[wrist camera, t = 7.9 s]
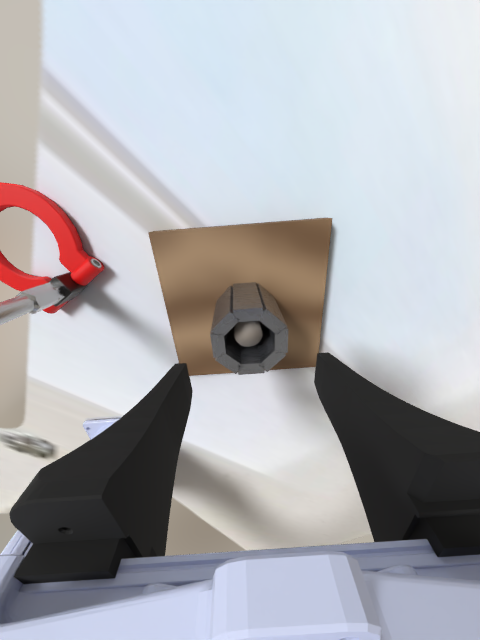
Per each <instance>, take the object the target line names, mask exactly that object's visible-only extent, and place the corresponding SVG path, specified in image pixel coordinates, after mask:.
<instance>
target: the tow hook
mask: <svg viewBox="0 0 480 640" xmlns="http://www.w3.org/2000/svg"><path fill="white" fill-rule="evenodd" d="M14 206H16V207H20V208H23V209H25V210H28V211H30V212H31V213H33V214H35V215H36V216H38V217H39V218H40V219H41V220H42V221H43V222H44V223H45V224H46V225H47V226H48V227H49V229H50V230H51V231H52V233H53V234H54V236H55V238H56V241H57V243H58V247H59V251H60V258H59V260H60V262H61V264H63V265H64V266H65V267H66V268H67V269H68V270H69V271H70V272H69V273H66V274H63V275H59V276H56V277H54V278H53V279H51V278H49V277H38V276H32V275H29V274H26V273H24V272H23V271H21V270H19V269H17V268H16V267H14V266H13V265H12V264H11V263H10V262H9V261H8V260H7V259H6V258H5V257H4V255H3V254H2V253H1V251H0V280H1V281H2V282H4V283H5V284H7V285H9V286H11V287H12V288H14V289H16V290H19V291H22V292H20V293H19V294H18V295H17V296H16V297H15V298H12V299H9V300H6V301H3V302H0V325H1V324H4V323H6V322H8V321H11V320H13V319H15V318H17V317H20V316H22V315H24V314H27V313H32V314H34V313H37V312H39V311H41V310H43V311H45V312H47V313H55V312H57V311H58V310H59V309H60V308H61V307H62V306H63V305H65V304H66V303H67V302H68V301H69V300H71V299H73V298H74V297H75V296H77V295H78V294H79V293H80V292H81V291H82V290H83V289H84V288H86V287H87V285H88V283H89V282H90V281H91V280H93V279H94V278H95V277H96V276H97V275H98V274H99V273H100V272H102V271H103V270H104V266H103V264H102V263H101V262H100V261H99V260H98V259H96V258H94V257H90V256H89V255H88V254H87V253H86V252H85V251H84V250H83V248H82V242H81V240H80V237H79V235H78V233H77V230H76V228H75V226H74V225H73V223H72V222H71V221H70V219H69V218H68V216H67V215H66V213H65V212H64V211H63V210H62V209H60V208H59V207H58V206H57V205H56V204H55V203H54V202H53V201H52V200H50V199H49V198H47V197H46V196H44V195H43V194H41V193H40V192H38V191H36V190H33V189H31V188H28V187H25V186H23V185H17V184H9V183H1V182H0V212H1V211H3V210H4V209H6V208H8V207H14Z"/></svg>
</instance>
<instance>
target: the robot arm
mask: <svg viewBox="0 0 480 640" xmlns="http://www.w3.org/2000/svg"><path fill="white" fill-rule="evenodd" d="M314 383H315V386H316V389H317V392H318V395H319V398H320V400H321V403H322V405H323V407H324V409H325V411H326V413H327V415H328V417H329V419H330V421H331V423H332V425H333V427H334V429H335V431H336V433H337V435H338V438H339V440H340V442H341V444H342V447H343V449H344V452H345V455H346V457H347V460H348V463H349V465H350V468H351V471H352V474H353V477H354V480H355V482H356V485H357V488H358V491H359V494H360V497H361V500H362V503H363V506H364V509H365V513H366V516H367V519H368V522H369V525H370V529H371V532H372V535H373V538H374V542H373V543H357V544H343V545H342V544H341V545H326V546H311V547H296V548H280V549H265V550H250V551H236V552H219V553H205V554H191V555H190V554H189V555H174V556H165V550H166V540H167V531H168V523H169V515H170V507H171V499H172V492H173V486H174V479H175V472H176V466H177V460H178V455H179V450H180V446H181V442H182V438H183V435H184V431H185V427H186V423H187V419H188V415H189V411H190V406H191V399H192V387H191V382H190V378H189V373H188V368H187V364H186V363H179V364H175V365H174V366H173V367H172V368H171V369H170V370H169V371H168V372H167V374H166V375H165V376H164V377H163V378H162V379H161V380H160V381H159V382H158V384H157V385H156V386H155V387H154V388H153V389H152V390H151V391H150V392H149V393H148V394H147V395H146V396H145V397H144V398H143V399H142V400H141V401H140V402H139V403H138V404H137V405H136V406H134V407H133V408H132V409H131V410H130V411H129V412H127V413H126V414H125V415H124V416H123V417H121V418H118V419H104V420H89V421H85V422H84V423H83V427H84V429H85V431H86V432H87V434H88V436H89V438H90V441H88V442H86V443H85V444H83V445H82V446H80V447H79V448H77V449H75V450H74V451H72V452H70V453H69V454H67V455H65V456H63V457H62V458H60V459H58V460H56V461H55V462H53V463H51V464H49V465H47V466H46V467H44V468H42V469H41V470H40V471H39V472H38V473H37V475H36V476H35V477H34V479H33V480H32V482H31V483H30V484H29V486H28V487H27V488H26V490H25V491H24V492H23V494H22V495H21V496H20V498H19V499H18V500H17V502H16V503H15V504H14V506H13V507H12V509H11V511H10V519H11V522H12V523H13V525H14V526H15V527H16V528H17V529H18V530H17V531H16V533H15V534H14V536H13V537H12V538H11V540H10V542H9V543H8V544H7V546H6V547H5V548H4V550H3V551H2V553H1V554H0V640H480V432H478V431H475V430H472V429H469V428H466V427H463V426H460V425H458V424H455V423H453V422H450V421H447V420H445V419H442V418H440V417H437V416H435V415H433V414H430V413H428V412H426V411H423V410H421V409H419V408H417V407H415V406H413V405H411V404H408V403H406V402H404V401H402V400H401V399H399V398H397V397H395V396H393V395H391V394H389V393H388V392H386V391H384V390H382V389H381V388H379V387H377V386H376V385H374V384H373V383H371V382H369V381H368V380H366V379H365V378H363V377H362V376H360V375H359V374H357V373H356V372H355V371H353V370H352V369H350V368H349V367H348V366H346V365H345V364H343V363H342V362H341V361H339V360H338V359H337V358H335V357H334V356H333V355H331V354H330V353H317V360H316V370H315V380H314Z"/></svg>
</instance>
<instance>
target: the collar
mask: <svg viewBox="0 0 480 640" xmlns="http://www.w3.org/2000/svg"><path fill="white" fill-rule="evenodd" d="M249 321H260V325H261V330H262V338H261V340H260V342H259V343H257V344H256V345H254V346H250V347H245V346H242V345H240V344H239V343H238V342H237V341H236V340H235V336H234V326H235V325H236V324H237V323H238V322H249ZM210 337H211V344H212V351H213V358H215V360H216V361H217V362H219V363H220V364H222V365H223V366H224V367H226V368H227V369H229V370H230V371H232V372H233V373H235V374H236V373H237V372H238V374H239V375H241V374H256V373H264V370H266V371H267V372H268V371H269V370H270V369H271V368H272V367H273V366H275V365H276V364H277V363H278V362H279V361H280V360H281V359H283V358H284V357H285V356H286V353H288V327H287V325H286V322H285V320H284V318H283V316H282V314H281V311H280V309H279V307H278V305H277V303H276V300H275V298H274V296H272V295H271V294H270V293H269V292H268V291H267V290H266V289H264V288H263V287H262V286H261V285H260V284H259V283H258V284H257V285H256V282H250V283H236V284H233V286H231V285H230V286H229V287H228V289H227V290H226V291H225V292H224V293H223V294H222V295H221V296H220V298H219V299H218V300H217V302H216V306H215V311H214V316H213V322H212V327H211V332H210Z"/></svg>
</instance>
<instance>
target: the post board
mask: <svg viewBox="0 0 480 640" xmlns="http://www.w3.org/2000/svg"><path fill="white" fill-rule="evenodd" d="M331 226H332V218H317V219H304V220H291V221H279V222H266V223H253V224H240V225H227V226H215V227H202V228H189V229H176V230H163V231H153V232H149V237H150V242H151V246H152V250H153V254H154V259H155V263H156V267H157V271H158V275H159V280H160V284H161V288H162V292H163V297H164V301H165V305H166V309H167V314H168V318H169V322H170V326H171V331H172V335H173V339H174V343H175V348H176V352H177V356H178V360H179V363H186V364H187V368H188V373H189V376H193V375H207V374H221V373H233V372H232V371H230V370H229V369H227V368H226V367H224V366H223V365H222V364H220V363H219V362H217V361H216V360H215V358H213V351H212V344H211V337H210V332H211V327H212V322H213V316H214V311H215V306H216V302H217V300H218V299H219V298H220V296H221V295H222V294H223V293H224V292H225V291H226V290H227V289H228V287H229V286H230V285H231V286H233V284H236V283H250V282H256V285H257V284H258V283H259V284H260V285H261V286H262V287H263V288H264V289H266V290H267V291H268V292H269V293H270V294H271V295H272V296H274V298H275V300H276V303H277V305H278V307H279V309H280V311H281V314H282V316H283V318H284V320H285V322H286V325H287V327H288V353H286V356H285V357H284V358H283V359H281V360H280V361H279V362H278V363H277V364H276V365H275V366H273V367H272V368H271V369H270V370H277V369H291V368H304V367H316V360H317V353H319V343H320V333H321V324H322V314H323V304H324V294H325V284H326V275H327V265H328V255H329V245H330V235H331ZM234 336H235V340H236V341H237V342H238V343H239V344H240V345H242V346H245V347H250V346H254V345H256V344H257V343H259V342H260V340H261V338H262V330H261V325H260V321H249V322H238V323H237V324H236V325H235V326H234Z"/></svg>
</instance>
